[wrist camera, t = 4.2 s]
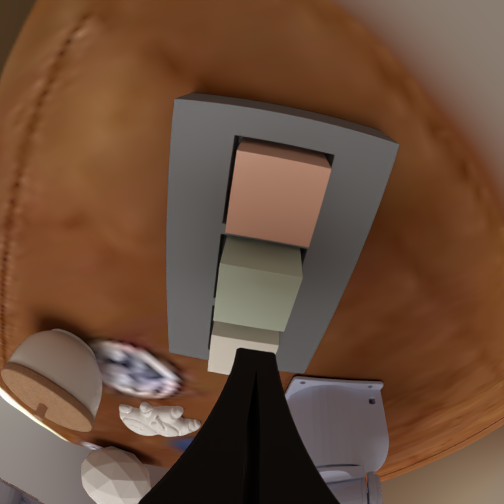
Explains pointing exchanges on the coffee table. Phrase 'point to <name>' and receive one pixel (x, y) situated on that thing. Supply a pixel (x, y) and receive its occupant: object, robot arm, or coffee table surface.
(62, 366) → the lidded jar
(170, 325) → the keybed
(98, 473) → the geometric shape
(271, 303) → the sage key
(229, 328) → the ivory key
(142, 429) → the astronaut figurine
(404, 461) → the coffee table surface
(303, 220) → the pink block
